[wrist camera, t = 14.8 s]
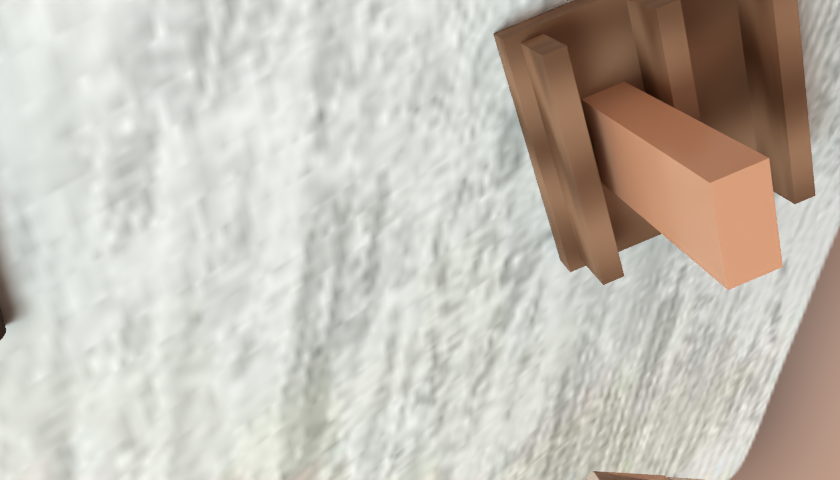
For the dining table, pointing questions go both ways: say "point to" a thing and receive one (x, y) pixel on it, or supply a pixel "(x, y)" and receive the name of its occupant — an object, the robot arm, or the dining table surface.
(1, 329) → the sunglasses case
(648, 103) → the clay slab
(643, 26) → the rack
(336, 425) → the dining table surface
